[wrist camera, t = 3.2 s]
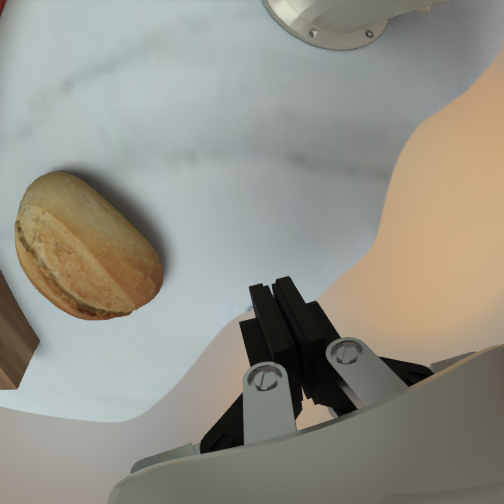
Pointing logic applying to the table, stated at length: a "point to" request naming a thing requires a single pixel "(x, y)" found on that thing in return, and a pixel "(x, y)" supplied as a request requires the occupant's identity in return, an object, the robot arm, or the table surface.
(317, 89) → the table surface
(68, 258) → the bread roll
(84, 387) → the table surface
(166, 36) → the table surface
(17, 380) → the walnut board
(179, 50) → the table surface
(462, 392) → the robot arm
